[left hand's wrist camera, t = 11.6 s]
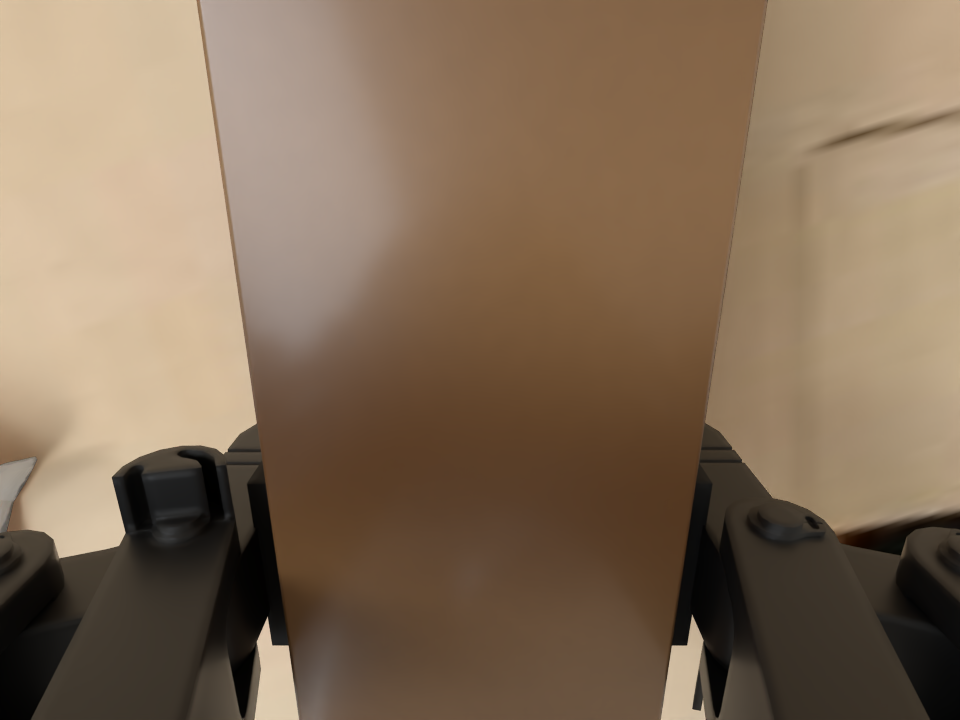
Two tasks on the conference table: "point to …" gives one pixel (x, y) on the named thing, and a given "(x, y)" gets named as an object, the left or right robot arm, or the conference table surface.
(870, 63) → the conference table surface
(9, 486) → the fish
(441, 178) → the bar
